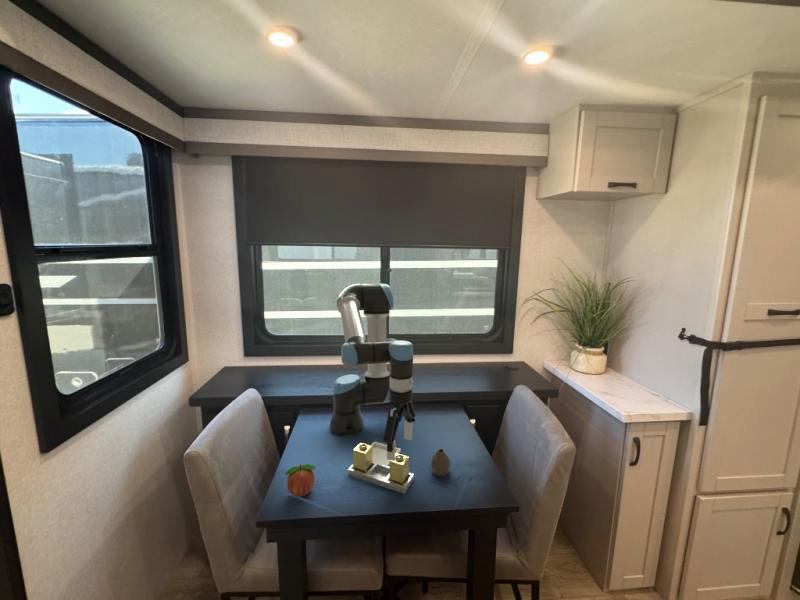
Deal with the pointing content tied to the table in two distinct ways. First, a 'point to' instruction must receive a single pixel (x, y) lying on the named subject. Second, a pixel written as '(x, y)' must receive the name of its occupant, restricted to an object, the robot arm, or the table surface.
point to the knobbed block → (399, 469)
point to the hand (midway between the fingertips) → (400, 449)
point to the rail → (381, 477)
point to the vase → (440, 463)
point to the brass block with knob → (362, 457)
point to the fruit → (300, 480)
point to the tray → (381, 453)
